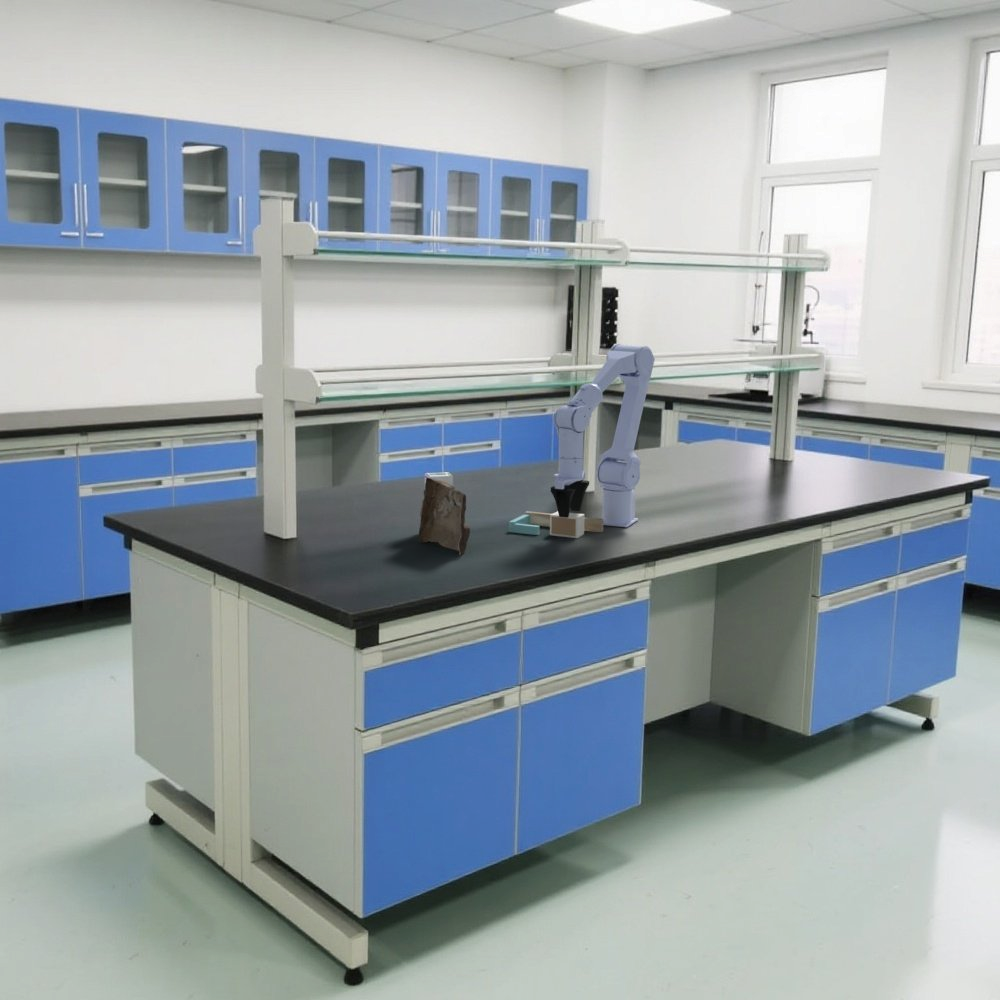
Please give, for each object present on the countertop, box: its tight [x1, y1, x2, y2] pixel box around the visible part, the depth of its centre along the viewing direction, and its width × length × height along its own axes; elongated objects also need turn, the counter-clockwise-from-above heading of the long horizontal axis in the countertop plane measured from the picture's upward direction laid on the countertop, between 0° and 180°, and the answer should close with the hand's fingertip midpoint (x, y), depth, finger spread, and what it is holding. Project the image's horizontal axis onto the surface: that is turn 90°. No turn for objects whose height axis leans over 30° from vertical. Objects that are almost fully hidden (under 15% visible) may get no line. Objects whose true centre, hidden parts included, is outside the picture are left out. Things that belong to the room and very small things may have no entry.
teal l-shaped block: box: [508, 513, 541, 536], centre depth 268 cm, size 10×8×2 cm
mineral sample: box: [418, 478, 471, 556], centre depth 247 cm, size 17×4×15 cm, turn 36°
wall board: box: [524, 510, 604, 533], centre depth 270 cm, size 1×20×3 cm, turn 65°
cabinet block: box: [549, 510, 586, 539], centre depth 263 cm, size 5×7×5 cm
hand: (569, 513), depth 262 cm, fingers open, 7 cm apart
